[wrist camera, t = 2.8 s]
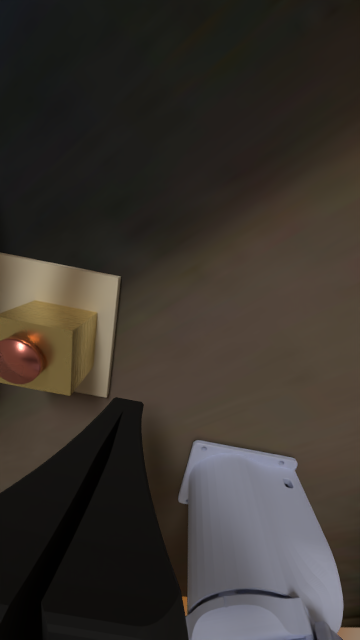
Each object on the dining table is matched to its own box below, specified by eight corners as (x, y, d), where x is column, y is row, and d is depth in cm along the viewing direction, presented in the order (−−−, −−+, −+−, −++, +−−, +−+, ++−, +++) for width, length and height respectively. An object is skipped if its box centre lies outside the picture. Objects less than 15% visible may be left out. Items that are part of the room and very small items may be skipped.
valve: (97, 312, 16) (65, 336, 12) (93, 366, 18) (63, 404, 13) (-7, 291, 16) (-77, 309, 12) (-3, 347, 17) (-63, 381, 13)
